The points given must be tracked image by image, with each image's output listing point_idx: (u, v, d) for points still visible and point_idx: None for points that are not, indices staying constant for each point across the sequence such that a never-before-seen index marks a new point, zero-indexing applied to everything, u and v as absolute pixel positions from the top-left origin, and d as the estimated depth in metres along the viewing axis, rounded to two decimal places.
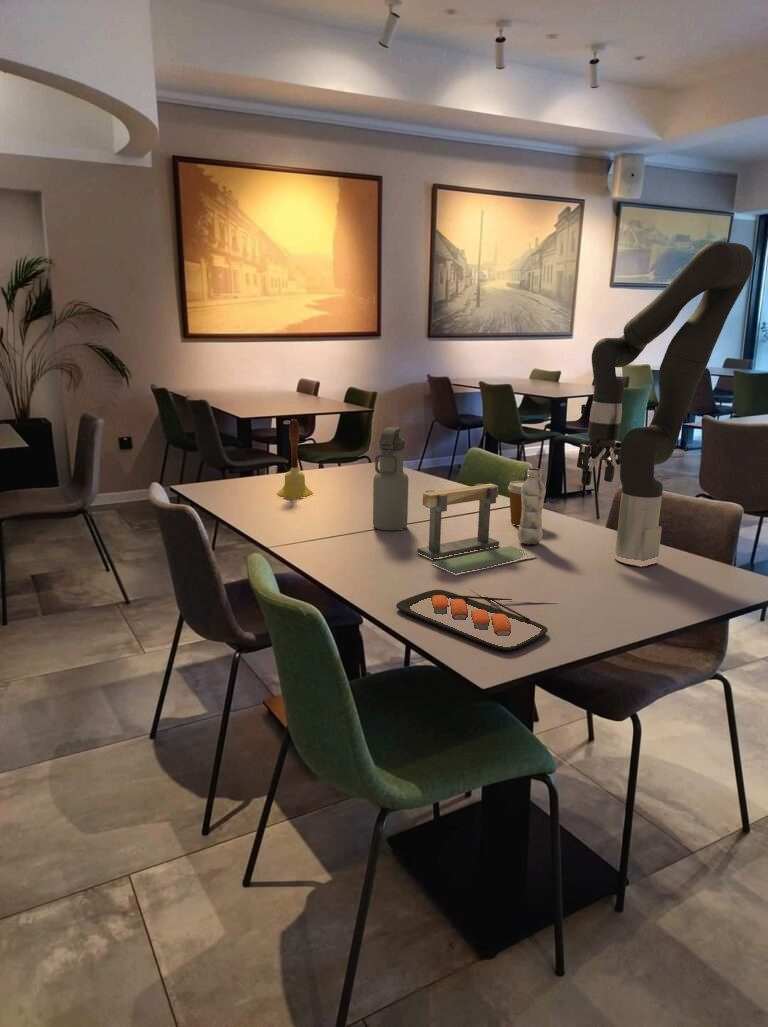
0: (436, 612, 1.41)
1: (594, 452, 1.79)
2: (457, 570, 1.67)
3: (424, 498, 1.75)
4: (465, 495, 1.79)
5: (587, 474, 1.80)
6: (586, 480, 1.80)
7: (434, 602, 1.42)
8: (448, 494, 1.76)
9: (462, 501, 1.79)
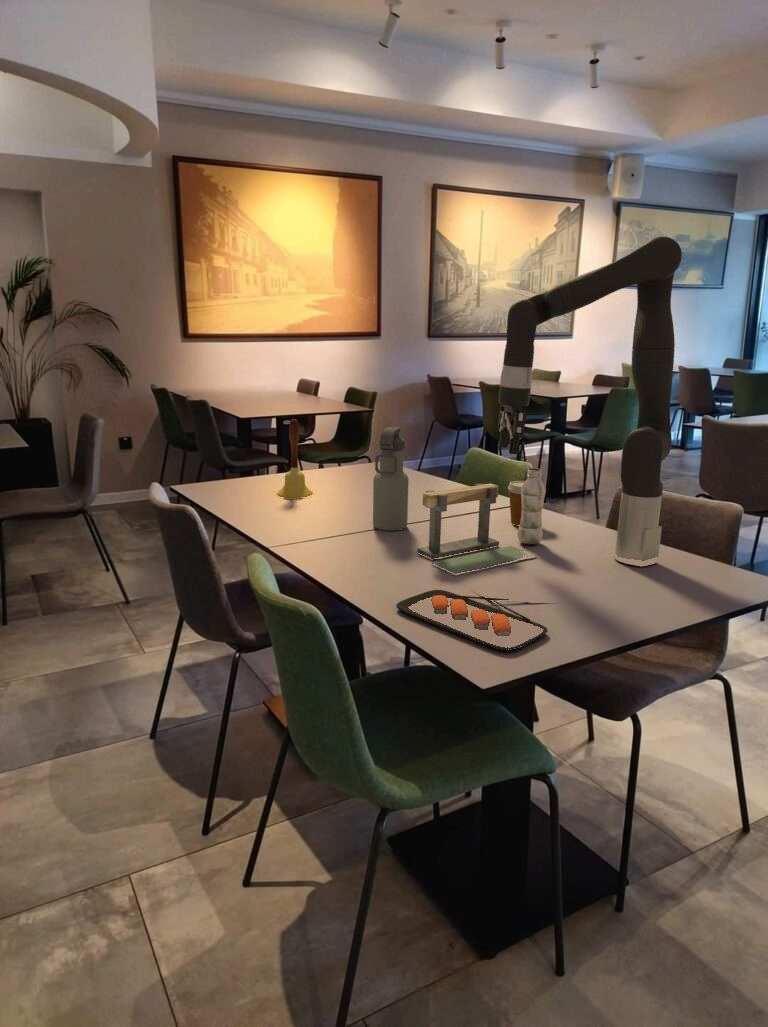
0: (436, 612, 1.41)
1: None
2: (457, 570, 1.67)
3: (424, 498, 1.75)
4: (465, 495, 1.79)
5: None
6: None
7: (434, 602, 1.42)
8: (448, 494, 1.76)
9: (462, 501, 1.79)
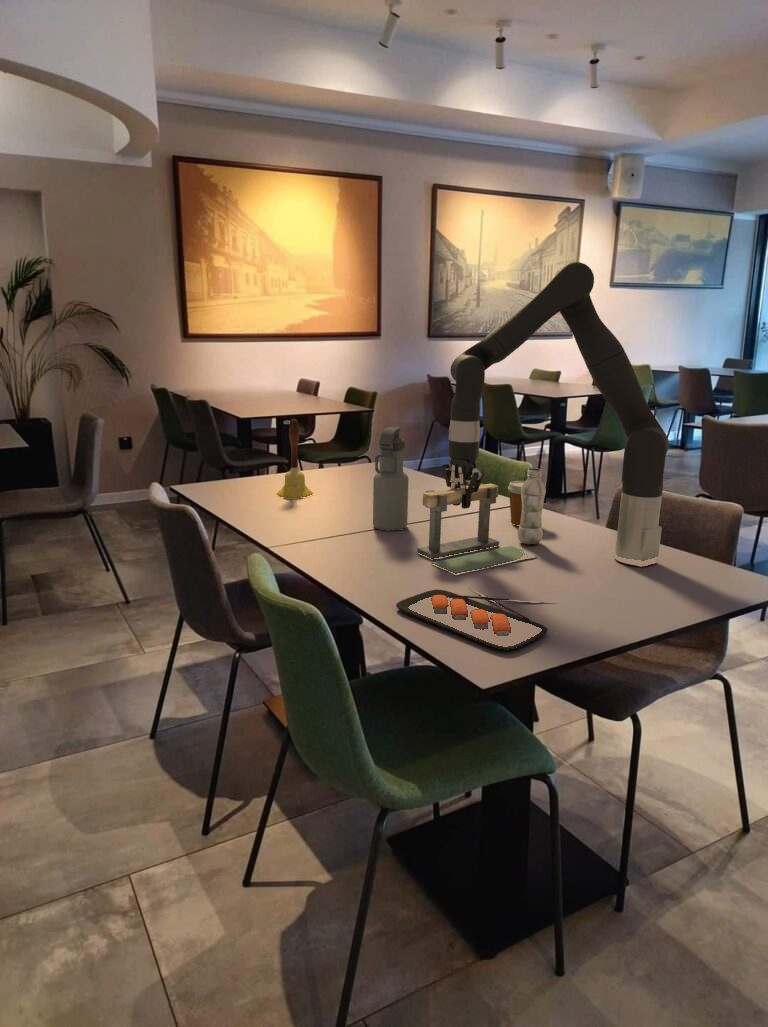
0: (436, 612, 1.41)
1: None
2: (457, 570, 1.67)
3: (424, 498, 1.75)
4: None
5: None
6: None
7: (434, 602, 1.42)
8: (448, 494, 1.76)
9: None
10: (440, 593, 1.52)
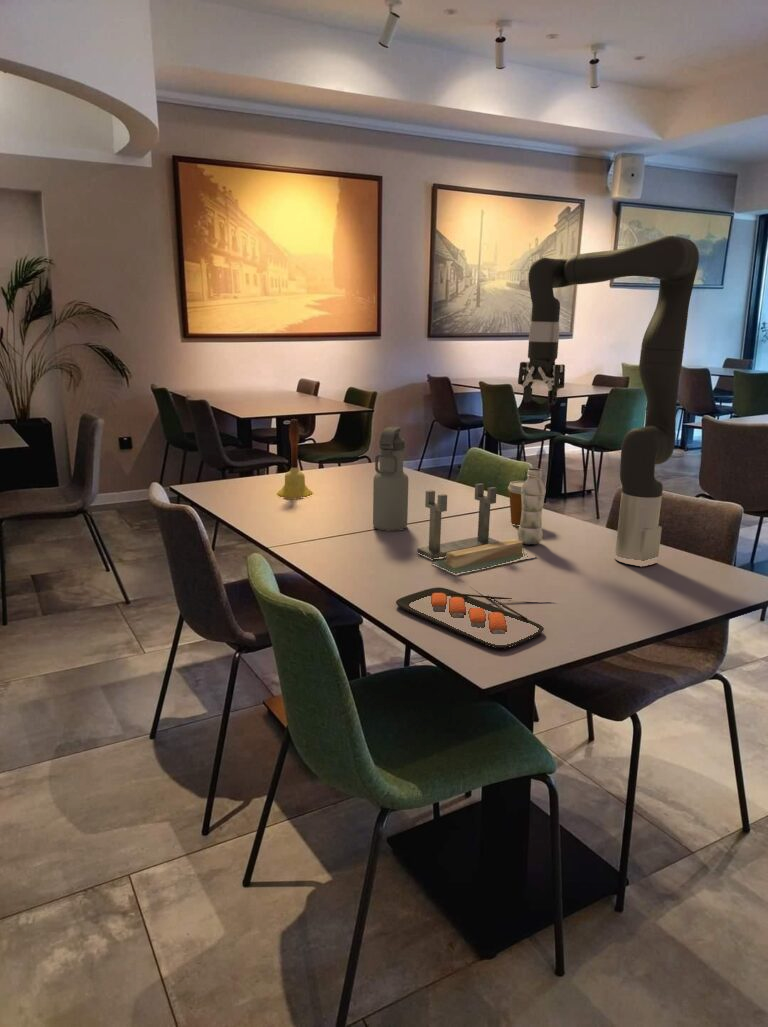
0: (434, 609, 1.43)
1: (553, 371, 1.85)
2: (457, 570, 1.67)
3: (448, 558, 1.70)
4: (489, 553, 1.74)
5: None
6: None
7: (433, 599, 1.43)
8: (472, 553, 1.71)
9: (486, 559, 1.74)
10: (441, 591, 1.53)
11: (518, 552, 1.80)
